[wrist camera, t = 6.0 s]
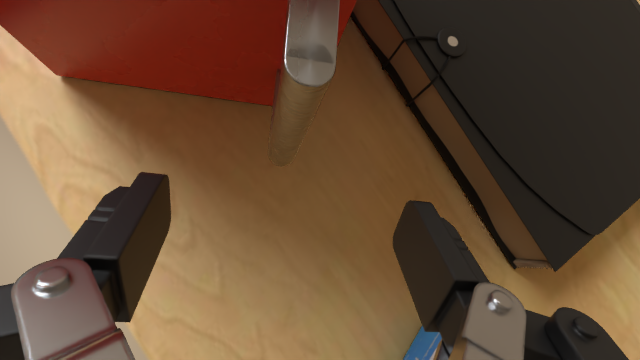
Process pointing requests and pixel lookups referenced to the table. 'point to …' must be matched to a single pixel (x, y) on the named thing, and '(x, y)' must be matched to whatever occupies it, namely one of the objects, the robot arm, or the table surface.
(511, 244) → the file folder
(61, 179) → the table surface
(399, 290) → the table surface
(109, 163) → the table surface
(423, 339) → the ink box
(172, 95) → the table surface
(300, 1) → the door
